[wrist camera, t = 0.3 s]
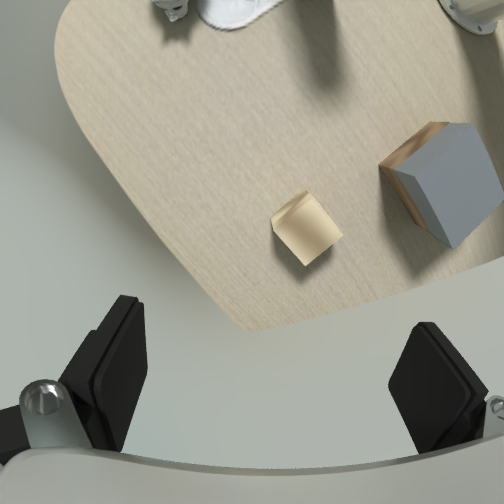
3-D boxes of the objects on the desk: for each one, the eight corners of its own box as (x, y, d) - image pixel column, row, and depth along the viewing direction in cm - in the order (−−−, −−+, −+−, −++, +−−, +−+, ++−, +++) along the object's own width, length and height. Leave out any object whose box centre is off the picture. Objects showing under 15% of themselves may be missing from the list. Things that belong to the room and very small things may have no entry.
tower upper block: (449, 122, 30) (474, 124, 25) (481, 188, 32) (505, 197, 28) (393, 169, 32) (414, 176, 27) (432, 235, 35) (453, 249, 30)
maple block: (304, 188, 38) (313, 197, 32) (331, 221, 39) (343, 235, 34) (270, 217, 39) (273, 230, 34) (298, 248, 40) (305, 266, 35)
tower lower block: (428, 121, 34) (449, 122, 30) (461, 180, 37) (482, 188, 32) (377, 164, 37) (394, 169, 32) (414, 223, 39) (432, 234, 35)
